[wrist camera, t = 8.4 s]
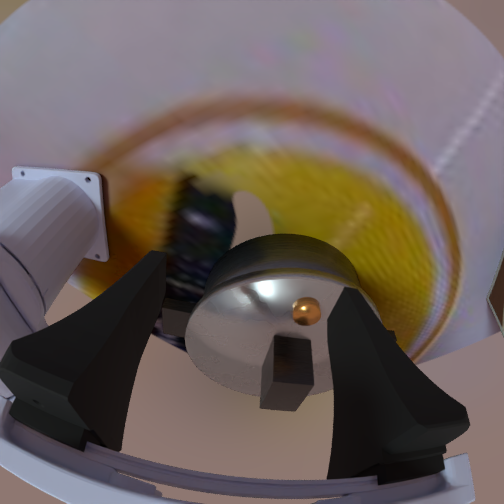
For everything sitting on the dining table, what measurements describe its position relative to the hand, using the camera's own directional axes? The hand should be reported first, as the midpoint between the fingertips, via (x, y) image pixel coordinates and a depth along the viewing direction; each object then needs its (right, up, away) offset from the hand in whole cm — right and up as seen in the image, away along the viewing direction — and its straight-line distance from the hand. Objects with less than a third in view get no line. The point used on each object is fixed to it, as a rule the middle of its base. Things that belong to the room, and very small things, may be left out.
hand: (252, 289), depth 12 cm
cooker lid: (+2, -5, +9) cm, 11 cm away
